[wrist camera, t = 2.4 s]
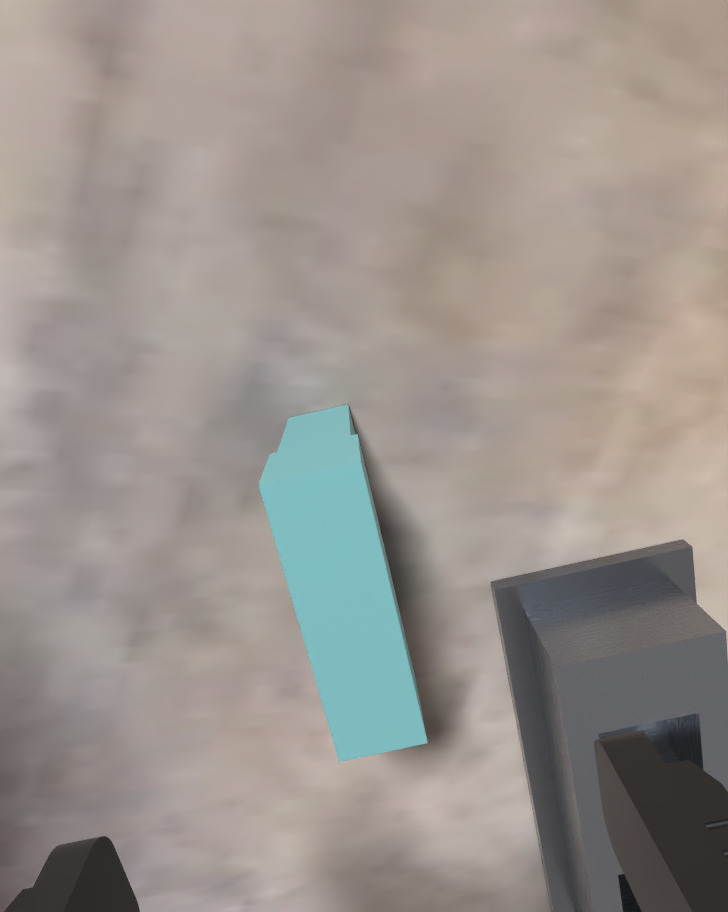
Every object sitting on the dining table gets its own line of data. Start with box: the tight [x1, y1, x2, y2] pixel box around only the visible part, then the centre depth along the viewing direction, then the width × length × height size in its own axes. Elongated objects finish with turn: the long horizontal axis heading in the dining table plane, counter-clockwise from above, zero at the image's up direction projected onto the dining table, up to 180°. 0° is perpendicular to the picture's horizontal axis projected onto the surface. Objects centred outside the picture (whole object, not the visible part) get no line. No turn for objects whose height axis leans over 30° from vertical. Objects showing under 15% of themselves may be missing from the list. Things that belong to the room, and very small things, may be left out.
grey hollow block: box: [491, 540, 728, 912], centre depth 23 cm, size 17×7×4 cm, turn 13°
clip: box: [259, 404, 428, 762], centre depth 19 cm, size 8×2×6 cm, turn 13°
